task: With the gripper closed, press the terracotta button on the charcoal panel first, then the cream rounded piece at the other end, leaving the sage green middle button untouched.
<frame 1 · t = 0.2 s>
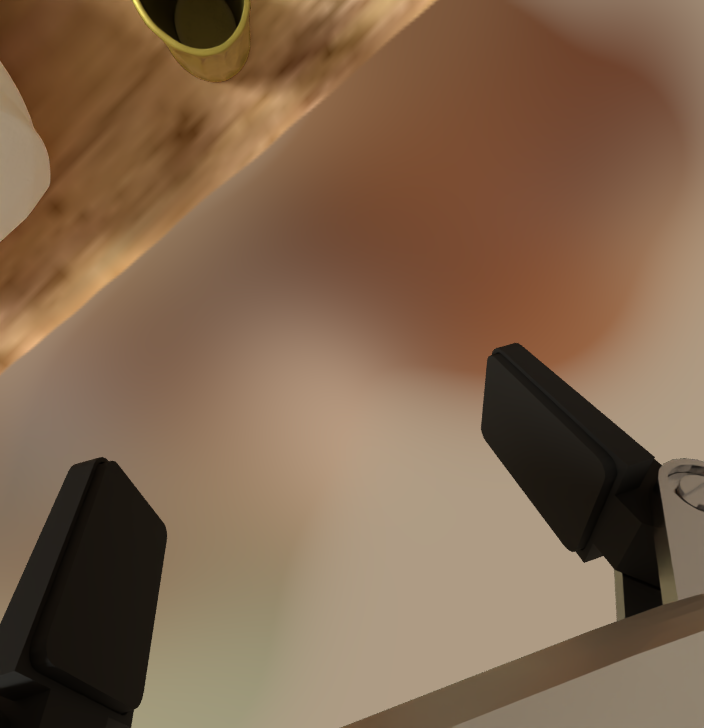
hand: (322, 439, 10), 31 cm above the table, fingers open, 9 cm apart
vase: (207, 30, 28), on the table
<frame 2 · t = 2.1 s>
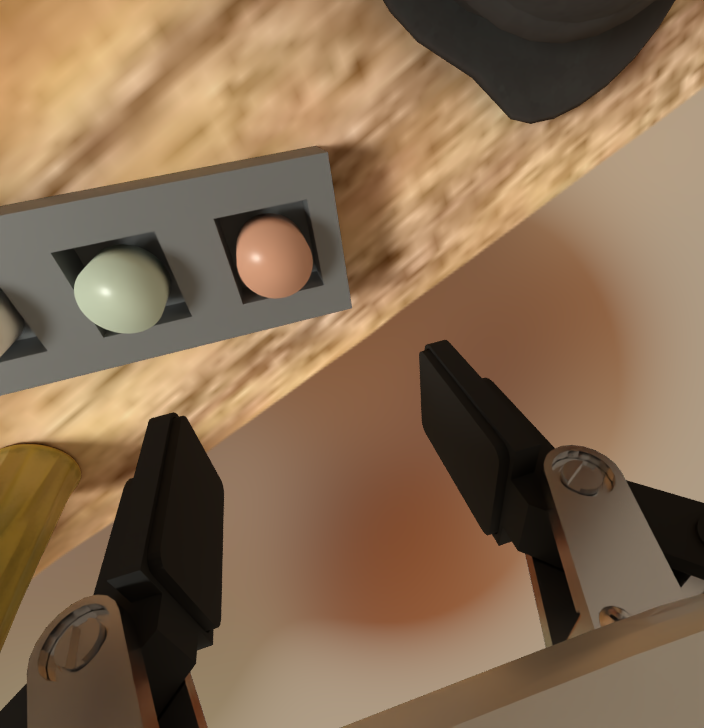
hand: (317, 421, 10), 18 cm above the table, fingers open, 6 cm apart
sage button: (126, 289, 20), point 4 cm above the table, slide at 0.0 cm
vase: (36, 468, 30), on the table
button panel: (140, 265, 23), on the table
terracotta button: (273, 255, 21), point 4 cm above the table, slide at 0.0 cm
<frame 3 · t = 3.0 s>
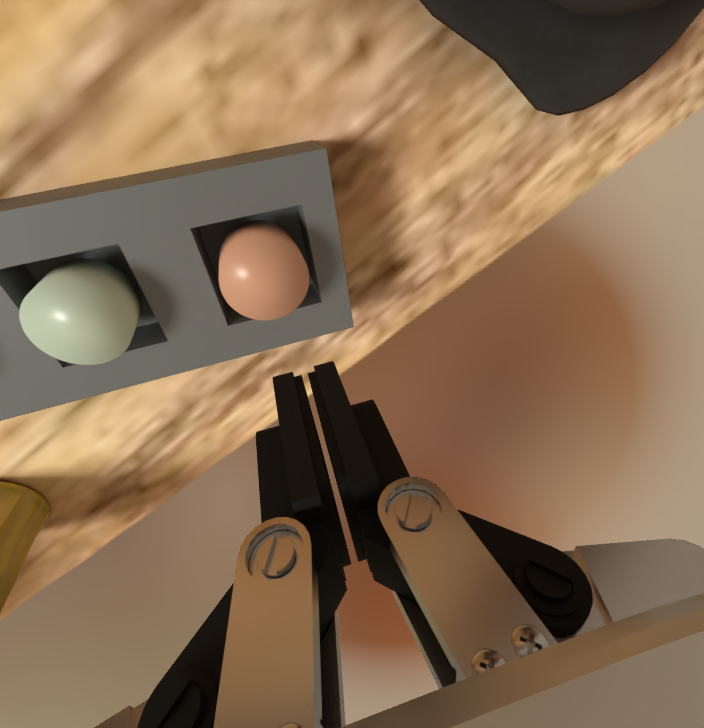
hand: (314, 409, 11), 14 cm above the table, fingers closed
sage button: (87, 311, 17), point 4 cm above the table, slide at 0.0 cm
button panel: (106, 280, 20), on the table
terracotta button: (263, 270, 18), point 4 cm above the table, slide at 0.0 cm
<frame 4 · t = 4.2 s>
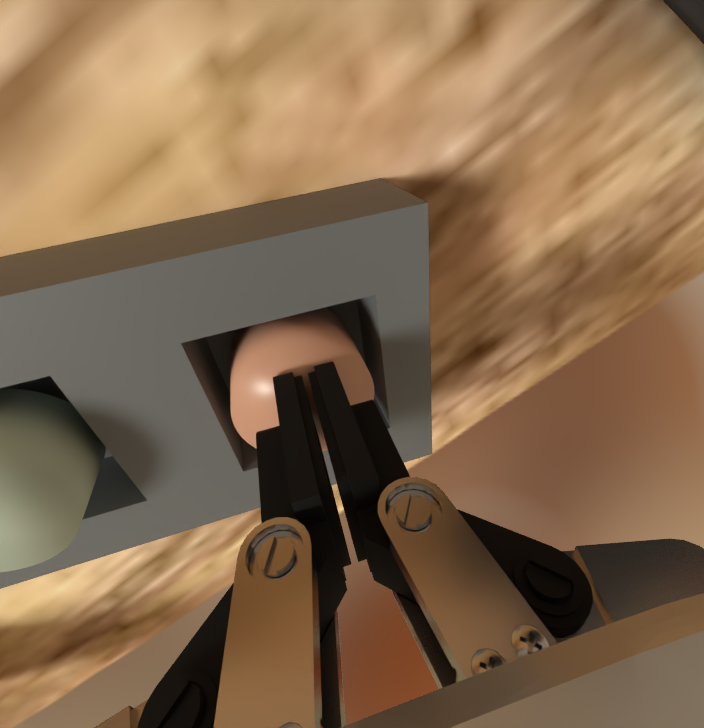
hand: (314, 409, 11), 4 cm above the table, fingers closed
sage button: (3, 480, 10), point 4 cm above the table, slide at 0.0 cm
button panel: (55, 393, 13), on the table
terracotta button: (299, 378, 12), point 3 cm above the table, slide at 0.9 cm
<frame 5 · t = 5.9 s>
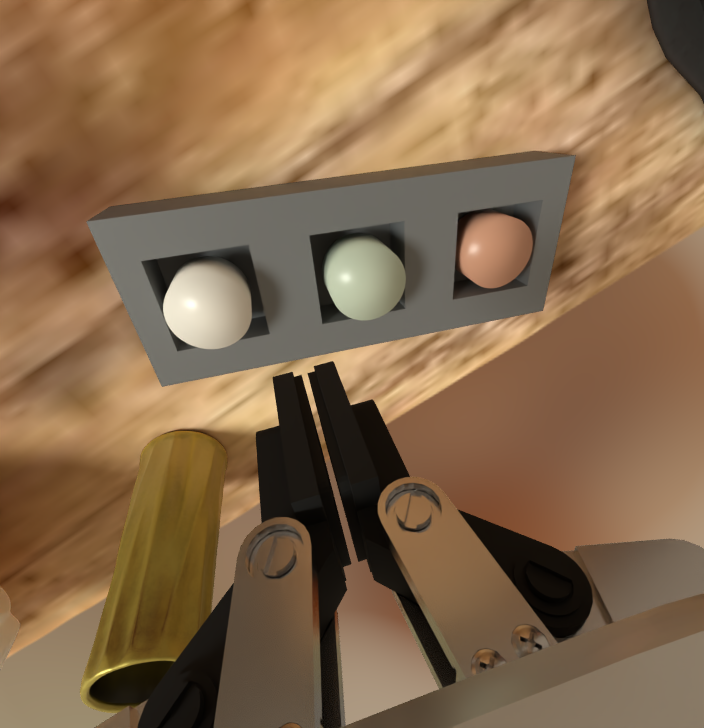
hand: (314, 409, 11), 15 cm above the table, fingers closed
sage button: (362, 276, 21), point 4 cm above the table, slide at 0.0 cm
vase: (186, 457, 29), on the table
button panel: (347, 256, 24), on the table
terracotta button: (488, 248, 23), point 3 cm above the table, slide at 1.0 cm
cream rounded piece: (210, 302, 19), point 4 cm above the table, slide at 0.0 cm
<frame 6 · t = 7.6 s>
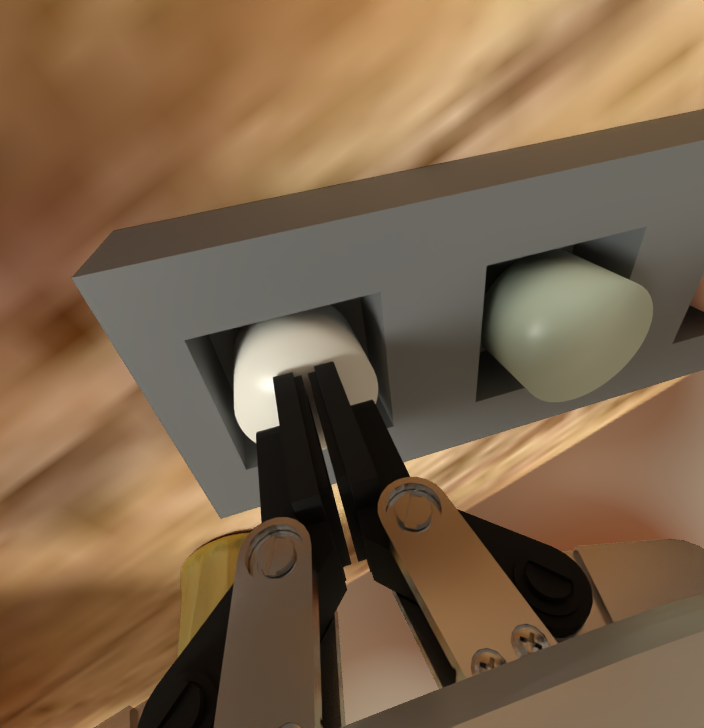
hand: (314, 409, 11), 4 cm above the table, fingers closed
sage button: (557, 325, 12), point 4 cm above the table, slide at 0.0 cm
vase: (240, 560, 21), on the table
button panel: (492, 280, 15), on the table
cream rounded piece: (302, 375, 12), point 3 cm above the table, slide at 0.9 cm, touching gripper
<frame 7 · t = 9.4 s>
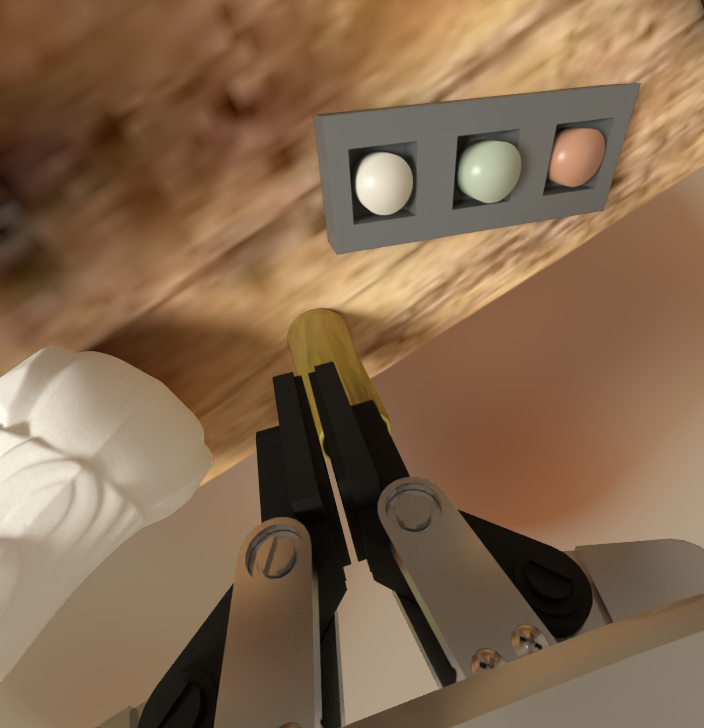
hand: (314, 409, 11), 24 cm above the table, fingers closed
sage button: (486, 171, 29), point 4 cm above the table, slide at 0.0 cm
vase: (318, 335, 37), on the table
button panel: (462, 164, 32), on the table
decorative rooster: (80, 419, 36), on the table
terracotta button: (569, 157, 31), point 3 cm above the table, slide at 1.0 cm
cream rounded piece: (380, 182, 28), point 3 cm above the table, slide at 1.0 cm
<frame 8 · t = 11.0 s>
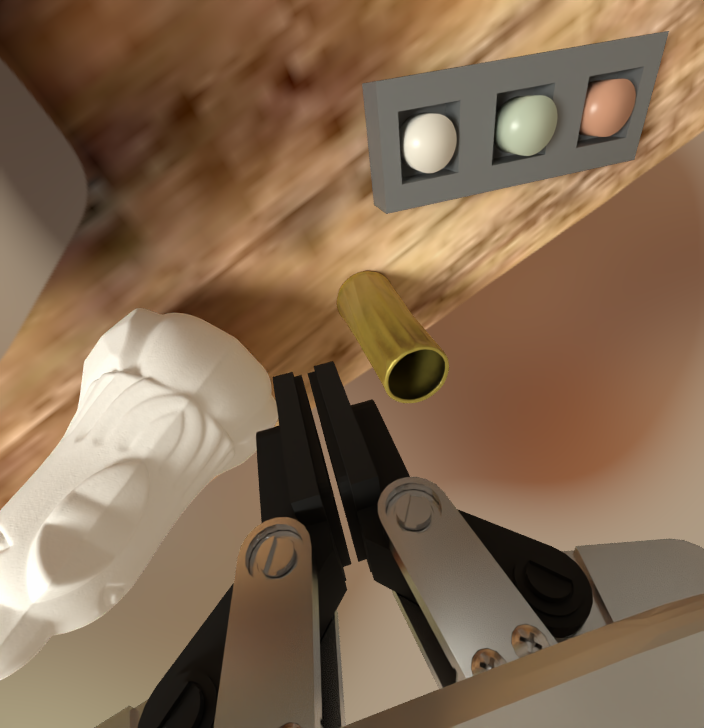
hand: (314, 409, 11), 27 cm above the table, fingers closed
sage button: (523, 125, 31), point 4 cm above the table, slide at 0.0 cm
vase: (364, 297, 40), on the table
button panel: (498, 123, 34), on the table
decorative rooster: (153, 384, 39), on the table
terracotta button: (601, 108, 32), point 3 cm above the table, slide at 1.0 cm
cream rounded piece: (425, 143, 30), point 3 cm above the table, slide at 1.0 cm
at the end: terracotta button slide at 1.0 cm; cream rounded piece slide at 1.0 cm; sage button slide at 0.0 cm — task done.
